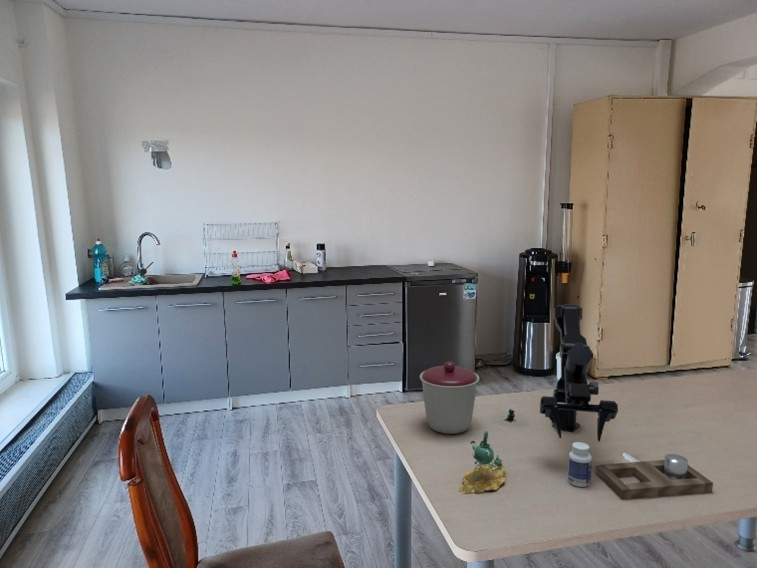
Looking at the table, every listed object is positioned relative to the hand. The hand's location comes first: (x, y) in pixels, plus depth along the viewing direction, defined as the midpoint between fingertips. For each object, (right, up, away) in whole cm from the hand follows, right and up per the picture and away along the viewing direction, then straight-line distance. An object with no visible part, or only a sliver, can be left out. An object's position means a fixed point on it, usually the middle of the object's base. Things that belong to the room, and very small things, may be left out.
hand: (579, 439), depth 135 cm
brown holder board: (+17, -10, -2) cm, 20 cm away
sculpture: (-8, -5, +37) cm, 38 cm away
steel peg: (+23, -10, -1) cm, 25 cm away
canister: (-29, -6, +32) cm, 43 cm away
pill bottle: (-1, -11, -1) cm, 11 cm away
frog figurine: (-23, -11, 0) cm, 26 cm away
